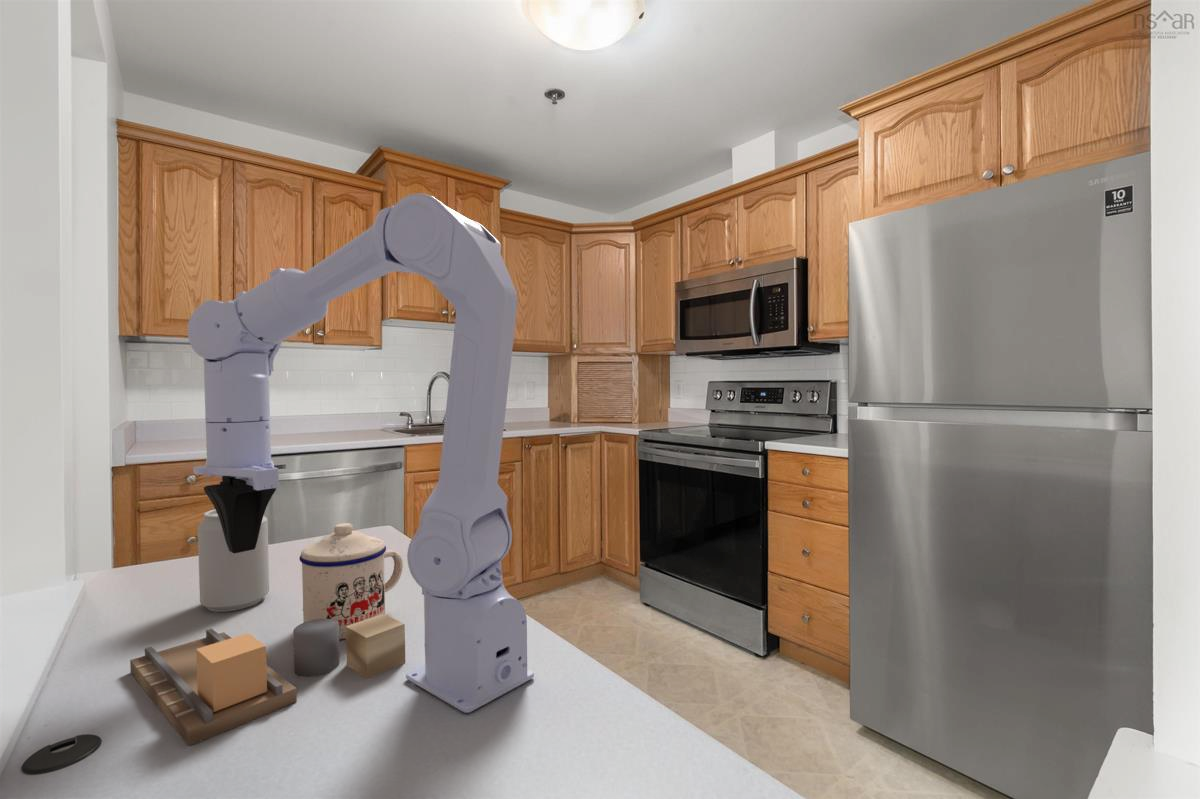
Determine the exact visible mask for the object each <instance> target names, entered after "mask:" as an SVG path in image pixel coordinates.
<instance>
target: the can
mask: <svg viewBox="0 0 1200 799" xmlns="http://www.w3.org/2000/svg"><path fill="white" fill-rule="evenodd" d="M203 517H204V519H203V520H202V521H201V522H200V523H199V524H198V525H197V548H198V550H197V551H198V552H197V554H198V580H199V581H198V585H199V587H198V588H199V604H200V605H201V606H203V607H205V608H207V610H208V611H209V610H210V611H212V612H217V613H220V612H222V613H223V612H224V613H225V612H231V611H232V612H233V611H238V610H243V609H246V608H249V607H252V606H255V605H257V604H258V603H260V602H261V601H262V600H263V598H264V597H266V595H267V594H268V593H269V592H270V567H269V566H270V565H269V563H270V562H269V561H270V560H269V559H270V558H269V531H268V530H269V527H268V526H269V524H268V518H267V517H266V516H265V515H264V516H263V519H262V523H261V527H260V532H259V536H258V540H257V544H256V547H255V549H254V550H249V551H244V552H239V553H232V552H230V551H229V549H228V546H227V544H226V540H225V537H224V533H223V530H222V526H221V523H220V519H219V517H218V514H217V512H216V509H215V508H214V509H211V510H208V511H206V512H204V513H203Z"/></svg>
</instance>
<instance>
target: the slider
mask: <svg viewBox="0 0 1200 799" xmlns="http://www.w3.org/2000/svg"><path fill="white" fill-rule="evenodd" d="M196 657H197V689H198V696H199V697H200V698H201V699H202V700H203V701H204V702H205V703H206V704H207V706H208V707H209V708H210V709H211V710H212V711H213V712H215V711H218V710H220V709H223V708H226V707H228V706H231V705H233V704H236V703H239V702H241V701H244V700H246V699H249V698H252V697H254V696H257V695H259V694H262V693H265V692H267V667H266V665H267V646H266V644H264V643H263V642H262V641H260V640H259V639H257V638H256V637H255V636H253V635H251V633H249V632H248V633H247V632H246V633H244V634H241V635H237V636H234V637H231V638H230V639H227V640H224V641H221V642H217V643H214V644H211V645H208V646H204V647H201V648H198V649H196Z"/></svg>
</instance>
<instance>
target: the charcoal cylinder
mask: <svg viewBox="0 0 1200 799" xmlns="http://www.w3.org/2000/svg"><path fill="white" fill-rule="evenodd" d="M292 635H293V636H292V638H293V641H292V643H293V644H292V645H293V672H294V675H296V676H298V677H300V678H301V677H302V678H314V677H320V676H323V675H325V674H328V673H331V672H332V671H334V670H335V669H336V668H338V667H339V665H340V639H339V626H338V621H336V620H334V619H317V620H312V621H308V622H305V623H300V624H299V625H296V627H294V629H293V630H292Z"/></svg>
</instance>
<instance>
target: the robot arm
mask: <svg viewBox="0 0 1200 799" xmlns="http://www.w3.org/2000/svg"><path fill="white" fill-rule="evenodd" d="M501 250H502V244H501V242H500V241H499V240H498V239H497V238H496V237H495V236H494V235H492V233H490V231H488V230H487V229H486V227H485V226H484V225H482V224H481V223H479V222H478V221H476V220H472V219H469V218H467V217H466V216H464V215H462V214H460V213H459V212H457V211H455V210H454V209H452V208H450V207H448V206H447V205H445V204H444V203H443V202H442V201H440V200H438V199H437V198H435V196H432V195H430V194H428V193H422V192H421V193H420V192H419V193H411V194H407V195H406V196H404V197H402V198H401V199H400V200H398V201H397V202H396V203H395V204H394V205H390V206H388V207H385V208H382V209H380V210H379V211H378V213H377V215H376V218H375V220H374V222H373V224H372V225H371V226H370V227H369V228H367V229H366V230H364V231H363V232H361V233H360V234H359V235H356V237H354V238H352V239H351V240H350V241H349V242H347V243H345V244H344V245H342V246H341V247H340V248H338V249H337V250H335V251H333V253H330V255H328V256H327V257H326V258H324V259H322V260H321V261H319V262H318V263H317V264H314V266H312V267H310V268H309V269H307V271H303V270H300V269H298V268H286V269H285V268H281V267H277V268H275V269H274V270H273V271H271V272H269V275H270V278H268V279H266V280H265V281H262V282H260V283H259V284H258V285H256V286H254V287H253V288H251V289H249V290H247V291H244V290H243V291H241V292H239V293H237V294H236V296H235V297H236V298H234V299H232V300H227V301H225V302H223V301H220V300H212V299H209V300H205V301H203V302H202V303H201V304H200V305H199V306H198V307H197V308H196V309H194V311H193V312H192V314H191V315H190V318H189V320H188V324H187V337H188V342H189V344H190V347H191V349H192V350H193V351H194V352H195V353H196V354H197V355H198V356H199V357H201V358H203V378H204V379H203V380H204V381H203V382H204V384H203V385H204V386H203V387H204V410H205V411H204V412H205V414H204V415H205V439H206V440H205V442H206V443H205V444H206V445H205V446H206V447H205V448H206V459H205V464H204V465H198V466H193V467H192V472H193V475H196V476H202V475H206V476H207V477H216V476H218V477H220V478H221V481H220V482H219V483H217V484H216V483H215V484H211V485H210V484H209V485H205V486H204V487H203V491H204V493H205V494H206V496H207V497H208V498H209V500H210V502H211V503H212V505H213V508H214V509H216V512H217V514H218V517H219V519H220V523H221V526H222V530H223V533H224V537H225V540H226V544H227V546H228V549H229V551H230V552H232V553H239V552H244V551H249V550H254V549H255V547H256V544H257V540H258V536H259V532H260V527H261V523H262V519H263V516H265V513H266V509H267V507H268V505H269V502H270V501H271V499H272V497H273V495H274V494H275V492H276V490H277V489H278V488H280V484H279V481H280V478H279V476H280V474H279V468H278V467H275V465H274V460H272V448H271V447H272V445H271V444H272V443H271V439H272V438H271V412H270V411H271V410H270V409H271V406H270V380H269V379H270V377H271V375H272V372H274V360H275V357H276V355H277V353H278V352H279V350H280V348H281V346H282V345H281V344H282V342H283V341H286V340H287V339H289V338H291V337H292V336H294V335H296V334H298V333H300V332H301V331H303V330H305V329H307V328H309V327H310V326H313V325H314V324H317V323H319V322H320V321H322V320H323V319H325V317H326V316H327V314H328V310H329V309H328V308H329V303H330V302H331V301H333V300H335V299H337V298H339V297H341V296H344V295H346V294H348V293H350V292H352V291H354V290H357V289H358V288H360V287H363V286H365V285H367V284H369V283H372V282H373V281H375V280H377V279H380V278H381V277H383V276H386V275H389V274H390V273H392V272H397V273H398V272H399V273H406V274H415V275H419V276H422V277H424V278H425V279H426V280H428V281H430V282H431V283H432V285H433V286H434V287H435V288H436V289H437V290H438V291H439V292H440V294H442V295H443V297H444V298H445V300H447V301H448V302H449V304H450V305H451V306H452V307H453V308H454V310H455V318H454V319H455V320H454V331H453V339H452V350H451V359H450V368H449V377H448V387H447V397H446V398H447V399H446V404H445V405H446V408H445V415H444V417H445V418H444V425H443V426H444V427H443V434H442V435H443V436H442V443H441V444H442V445H441V454H440V464H439V473H438V482H437V483H436V485H435V487H434V489H433V491H432V492H430V495H428V496H429V497H428V498H427V500H426V501H425V503H424V505H423V507H422V508H421V515H420V522H419V525H418V528H417V531H415V534H414V535H413V536H412V538H411V540H410V541H409V544H408V548H407V555H406V557H407V559H406V560H407V564H408V565H407V566H408V569H409V572H410V574H411V577H412V578H413V580H414V581H415V583H416V584H417V585H418V586H419V587H421V595H423V611H424V613H423V614H424V615H423V617H424V664H423V665H421V666H419V667H417V668H414V669H411V670H409V671H407V673H406V674H405V679H406V680H408V681H409V682H410V683H411V682H412V683H413V684H414V685H417V686H418V687H420V688H421V689H423V690H425V691H426V692H428V693H430V694H432V695H434V696H435V697H437V698H439V699H440V700H442V701H444V702H446V703H447V704H448V705H451V706H452V707H454V708H456V709H458V710H459V711H461V712H462V713H466V714H467V713H472V712H474V711H475V710H477V709H479V708H480V707H482V706H485V705H486V704H488V703H489V702H492V701H493V700H496V699H497V698H499V697H501V696H503V695H504V694H506V693H508V692H510V691H512V690H513V689H515V688H517V687H520V686H521V685H523V684H524V683H526V682H528V681H530V680H532V679H533V678H534V677H535V672H534V671H533V670H532V669H529V668H528V627H527V626H528V620H527V612H526V609H525V607H524V606H523V604H522V602H521V601H519V600H518V599H517V598H515V597H514V596H513V595H511V594H510V593H509V591H507V589H506V587H505V585H504V582H503V570H502V560H503V559H504V558H505V557H506V556H507V554H508V553H509V550H510V548H511V546H512V541H513V531H512V527H511V523H510V521H509V519H508V510H507V507H508V506H507V505H508V496H507V494H506V493H505V491H504V490H503V489H502V488H501V486H500V485H499V483H498V482H499V481H498V480H499V474H500V473H499V472H500V465H501V455H502V446H503V439H504V438H503V437H504V429H505V428H504V427H505V419H506V411H507V399H508V391H509V384H510V383H509V382H510V376H511V375H510V374H511V368H512V367H511V366H512V356H513V347H514V338H515V329H516V322H517V310H518V293H517V290H516V287H515V285H514V283H513V280H512V279H511V278H512V277H511V276H510V272H509V270H508V268H507V266H506V264H505V261H504V258H503V256H502V254H501Z"/></svg>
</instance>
